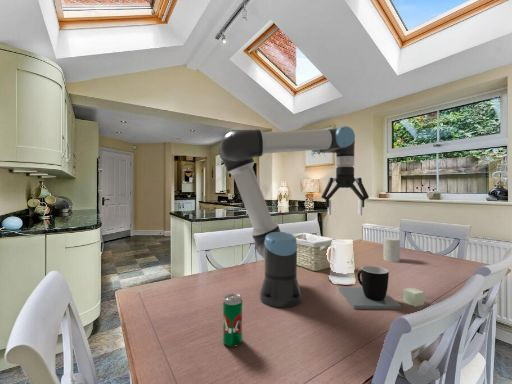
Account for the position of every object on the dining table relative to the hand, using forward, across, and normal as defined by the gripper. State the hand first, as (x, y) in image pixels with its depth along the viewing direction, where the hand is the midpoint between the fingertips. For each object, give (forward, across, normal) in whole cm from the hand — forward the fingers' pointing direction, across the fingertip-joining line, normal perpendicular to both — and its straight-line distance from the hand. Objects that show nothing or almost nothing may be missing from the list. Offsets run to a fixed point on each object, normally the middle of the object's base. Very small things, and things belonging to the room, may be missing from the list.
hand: (344, 214), depth 114 cm
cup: (+29, +37, +31) cm, 56 cm away
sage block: (+29, +17, -23) cm, 41 cm away
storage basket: (+29, -11, +22) cm, 38 cm away
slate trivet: (+29, +2, -20) cm, 35 cm away
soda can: (+29, -45, -47) cm, 71 cm away
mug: (+28, +3, -20) cm, 34 cm away
